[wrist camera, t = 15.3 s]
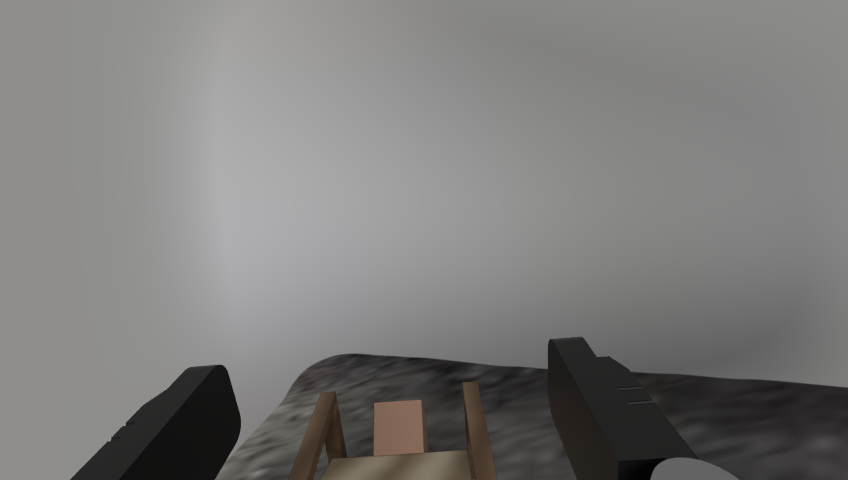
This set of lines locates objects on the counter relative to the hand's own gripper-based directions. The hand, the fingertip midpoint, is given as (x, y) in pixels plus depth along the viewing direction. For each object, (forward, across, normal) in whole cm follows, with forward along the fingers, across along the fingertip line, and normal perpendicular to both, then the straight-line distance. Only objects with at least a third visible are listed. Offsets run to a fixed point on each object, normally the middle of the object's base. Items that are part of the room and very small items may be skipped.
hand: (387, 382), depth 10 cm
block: (+25, +4, +24) cm, 35 cm away
